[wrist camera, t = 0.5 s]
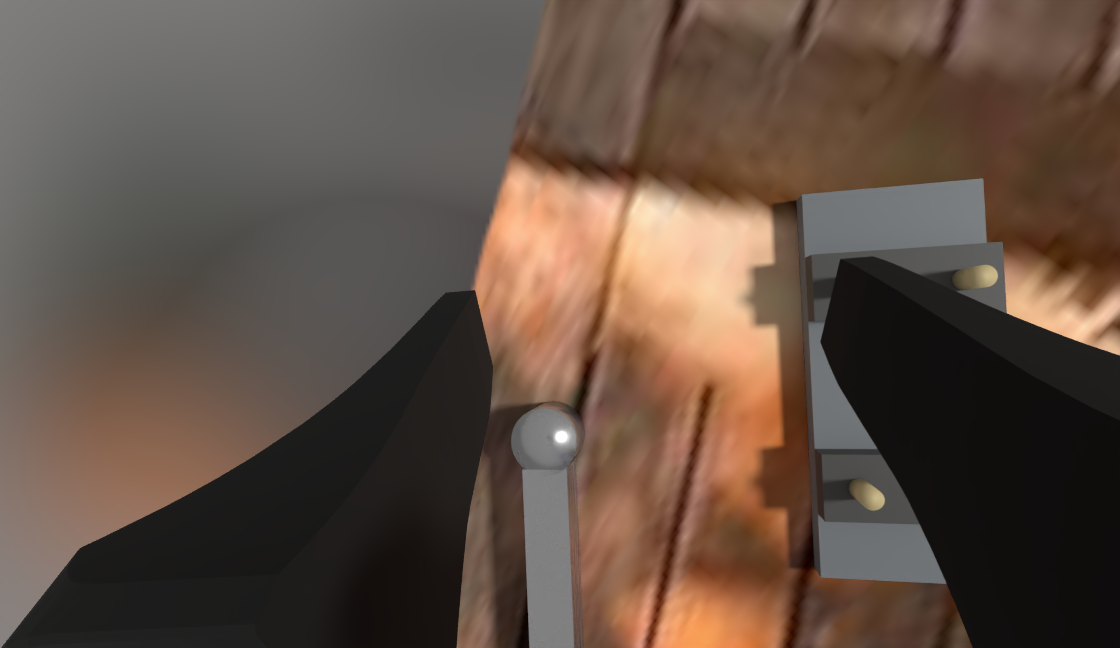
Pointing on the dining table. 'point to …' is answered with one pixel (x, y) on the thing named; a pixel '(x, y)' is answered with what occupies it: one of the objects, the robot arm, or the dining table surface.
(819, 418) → the peg rack
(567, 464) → the grey bar
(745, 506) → the dining table surface
